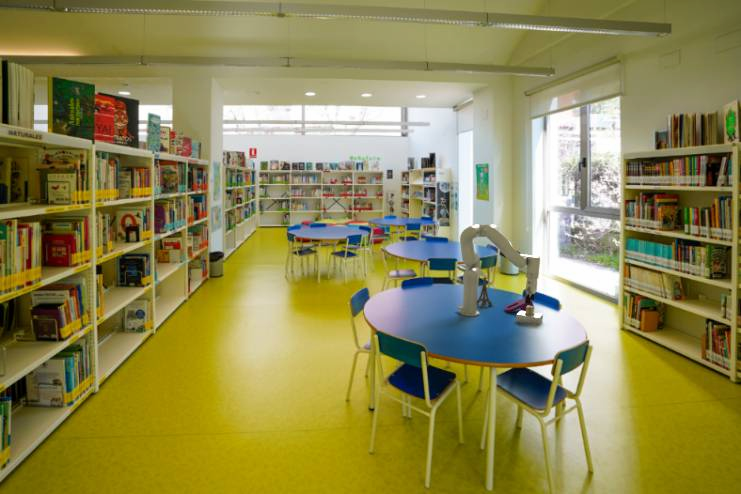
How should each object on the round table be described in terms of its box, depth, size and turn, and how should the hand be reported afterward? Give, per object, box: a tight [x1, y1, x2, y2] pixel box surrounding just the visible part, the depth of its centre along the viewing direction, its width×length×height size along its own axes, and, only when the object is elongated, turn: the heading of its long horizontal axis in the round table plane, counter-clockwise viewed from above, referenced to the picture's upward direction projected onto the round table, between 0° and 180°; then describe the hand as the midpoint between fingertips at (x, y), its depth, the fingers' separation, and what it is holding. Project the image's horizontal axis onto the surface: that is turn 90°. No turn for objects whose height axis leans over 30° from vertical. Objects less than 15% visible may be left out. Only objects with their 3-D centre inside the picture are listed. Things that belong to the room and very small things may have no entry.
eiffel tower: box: [477, 276, 495, 309], centre depth 321 cm, size 11×11×25 cm
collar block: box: [515, 310, 544, 326], centre depth 286 cm, size 14×10×5 cm
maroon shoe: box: [504, 297, 535, 313], centre depth 309 cm, size 9×8×18 cm
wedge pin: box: [526, 306, 535, 316], centre depth 286 cm, size 4×4×10 cm
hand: (529, 301), depth 285 cm, fingers open, 9 cm apart
